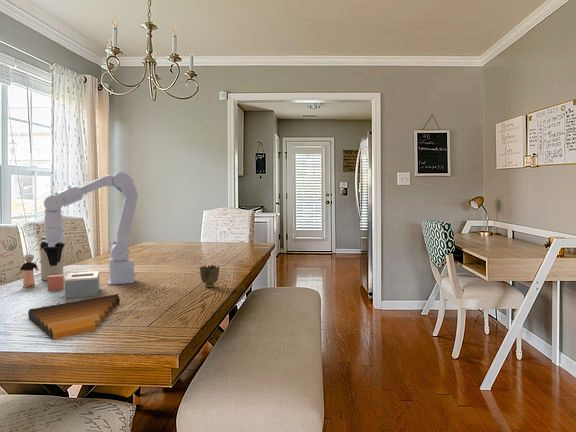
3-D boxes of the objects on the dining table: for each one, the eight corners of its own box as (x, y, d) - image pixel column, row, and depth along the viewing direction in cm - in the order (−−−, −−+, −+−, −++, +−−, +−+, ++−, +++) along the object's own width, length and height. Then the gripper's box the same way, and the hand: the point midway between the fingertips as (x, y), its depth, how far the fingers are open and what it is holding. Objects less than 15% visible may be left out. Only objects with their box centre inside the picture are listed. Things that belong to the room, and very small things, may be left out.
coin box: (99, 288, 154) (98, 271, 153) (97, 295, 142) (97, 277, 142) (69, 290, 150) (68, 273, 149) (65, 298, 139) (64, 279, 138)
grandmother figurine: (25, 288, 153) (24, 255, 152) (17, 288, 154) (16, 254, 153) (42, 284, 160) (41, 252, 160) (33, 283, 161) (32, 251, 160)
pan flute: (115, 303, 135) (28, 319, 117) (115, 293, 135) (27, 308, 117) (150, 319, 117) (53, 342, 100) (150, 308, 117) (52, 328, 99)
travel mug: (67, 277, 174) (66, 235, 173) (55, 281, 166) (53, 237, 165) (50, 276, 175) (48, 234, 174) (36, 280, 167) (35, 236, 166)
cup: (223, 287, 156) (223, 266, 155) (207, 290, 150) (207, 269, 150) (211, 284, 161) (211, 264, 160) (196, 287, 155) (195, 266, 155)
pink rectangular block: (64, 287, 155) (63, 274, 154) (63, 289, 152) (62, 275, 152) (48, 288, 153) (48, 275, 152) (47, 290, 150) (47, 277, 150)
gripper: (44, 226, 156) (46, 261, 157) (37, 229, 143) (39, 268, 144) (65, 226, 159) (66, 260, 160) (60, 229, 146) (61, 266, 146)
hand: (55, 264), depth 152 cm, fingers open, 7 cm apart
